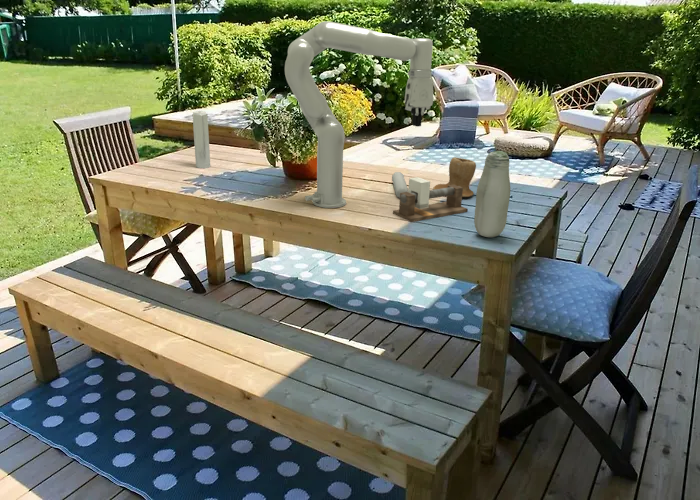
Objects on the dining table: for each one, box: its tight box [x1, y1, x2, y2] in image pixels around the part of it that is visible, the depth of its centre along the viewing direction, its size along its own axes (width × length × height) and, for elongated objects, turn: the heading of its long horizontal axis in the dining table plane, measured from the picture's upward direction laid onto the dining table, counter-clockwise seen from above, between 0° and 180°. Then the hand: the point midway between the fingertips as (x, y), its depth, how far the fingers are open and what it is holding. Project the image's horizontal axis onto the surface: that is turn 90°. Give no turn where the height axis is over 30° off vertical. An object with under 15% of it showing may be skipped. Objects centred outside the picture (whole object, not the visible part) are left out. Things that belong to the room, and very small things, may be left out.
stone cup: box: [432, 156, 477, 198], centre depth 245 cm, size 15×12×15 cm
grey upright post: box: [192, 110, 211, 169], centre depth 276 cm, size 6×6×25 cm
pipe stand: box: [392, 185, 468, 223], centre depth 221 cm, size 26×11×9 cm, turn 122°
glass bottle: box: [473, 150, 511, 238], centre depth 195 cm, size 10×10×28 cm
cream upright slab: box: [407, 176, 431, 209], centre depth 217 cm, size 4×7×10 cm, turn 32°
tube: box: [391, 171, 409, 199], centre depth 249 cm, size 5×5×25 cm
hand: (416, 125), depth 226 cm, fingers closed
